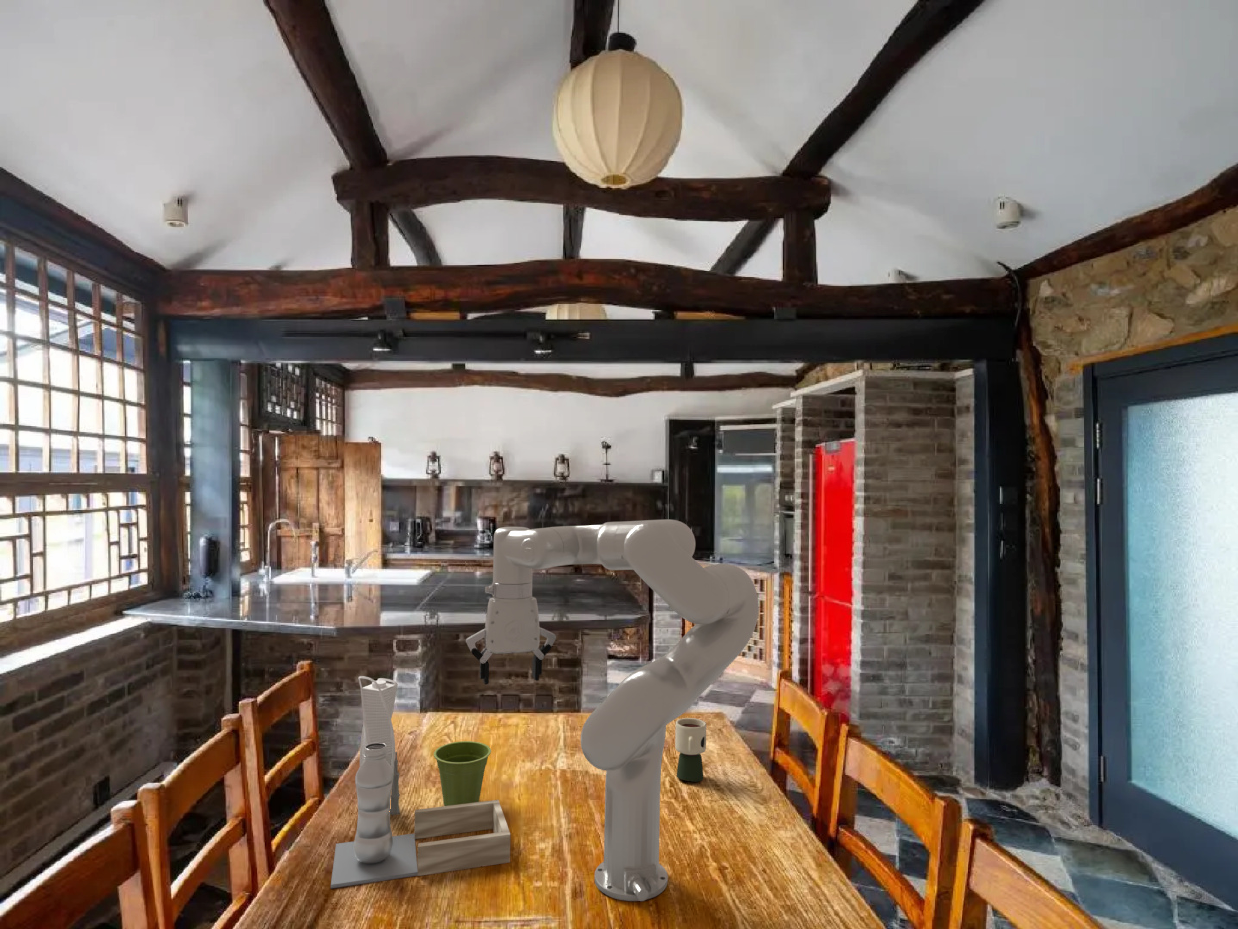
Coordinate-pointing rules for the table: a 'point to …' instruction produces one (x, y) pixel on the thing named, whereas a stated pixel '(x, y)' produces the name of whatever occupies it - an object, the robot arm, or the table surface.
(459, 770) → the plant pot
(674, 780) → the table surface
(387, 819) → the plastic bottle
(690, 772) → the character mug
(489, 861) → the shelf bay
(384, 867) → the tile
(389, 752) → the skyscraper
